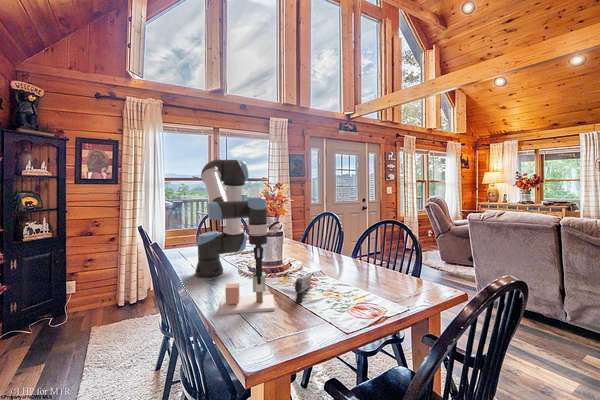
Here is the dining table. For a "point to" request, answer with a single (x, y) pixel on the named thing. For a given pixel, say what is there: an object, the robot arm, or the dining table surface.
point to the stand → (244, 301)
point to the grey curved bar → (302, 286)
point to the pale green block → (262, 282)
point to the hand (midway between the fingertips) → (259, 288)
